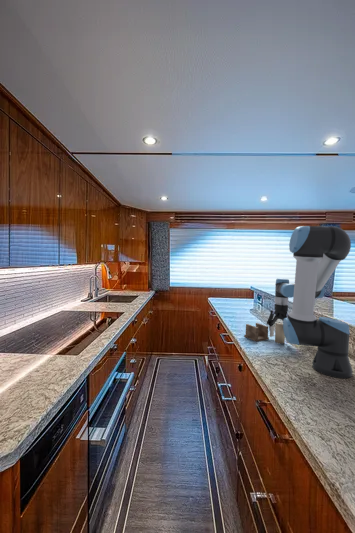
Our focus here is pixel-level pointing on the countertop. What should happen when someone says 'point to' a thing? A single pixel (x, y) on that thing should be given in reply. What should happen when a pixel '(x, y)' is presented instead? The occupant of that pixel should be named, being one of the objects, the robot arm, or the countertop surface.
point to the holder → (257, 332)
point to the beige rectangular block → (279, 333)
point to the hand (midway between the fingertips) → (279, 339)
